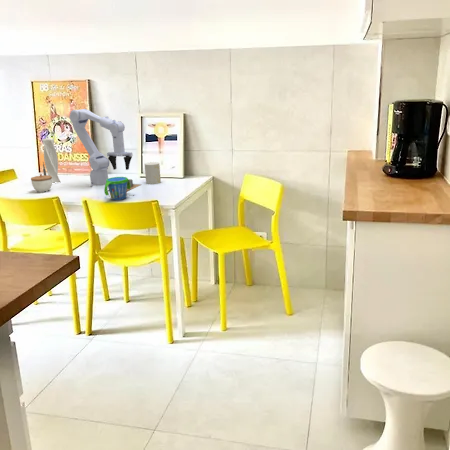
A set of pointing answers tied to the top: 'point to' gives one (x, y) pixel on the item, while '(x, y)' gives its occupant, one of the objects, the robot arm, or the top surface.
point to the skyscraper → (50, 159)
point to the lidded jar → (42, 182)
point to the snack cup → (117, 187)
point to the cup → (152, 173)
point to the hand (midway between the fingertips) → (121, 169)
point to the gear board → (133, 187)
